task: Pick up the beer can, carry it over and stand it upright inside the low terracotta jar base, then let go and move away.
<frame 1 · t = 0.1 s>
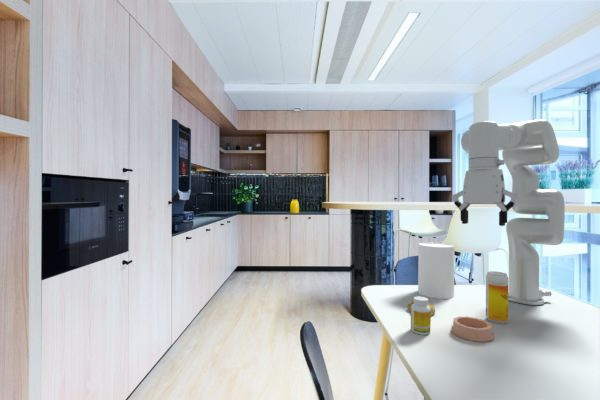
hand: (482, 224, 91), 31 cm above the table, tool pointing down, fingers open, 9 cm apart
beer can: (496, 321, 100), on the table
canister: (435, 294, 129), on the table
bread roll: (421, 313, 107), on the table
jar base: (471, 333, 90), on the table
supplement bottle: (420, 332, 91), on the table
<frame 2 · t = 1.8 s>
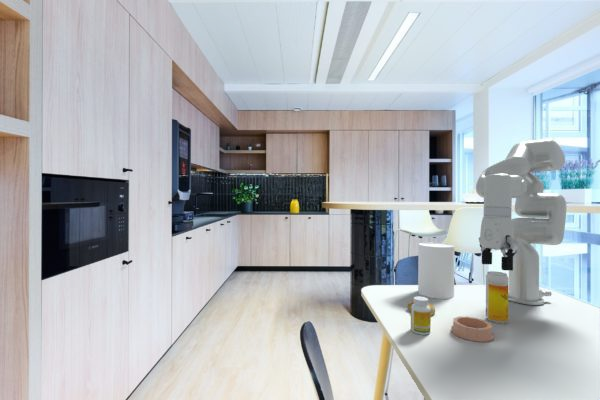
hand: (496, 267, 100), 17 cm above the table, tool pointing down, fingers open, 9 cm apart
nothing on the table moved.
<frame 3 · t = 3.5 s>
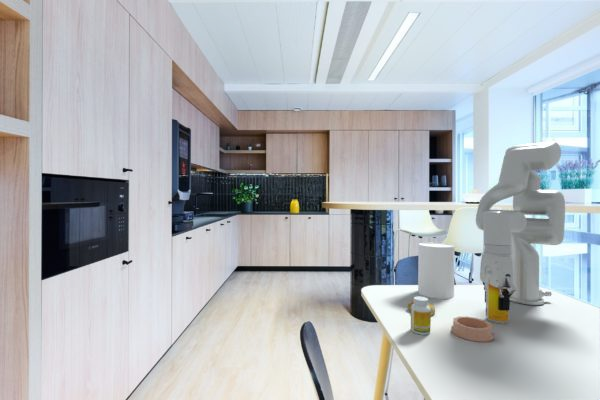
hand: (496, 305, 100), 5 cm above the table, tool pointing down, fingers closed on beer can, 6 cm apart
beer can: (496, 321, 100), on the table, touching gripper
everything else where it was.
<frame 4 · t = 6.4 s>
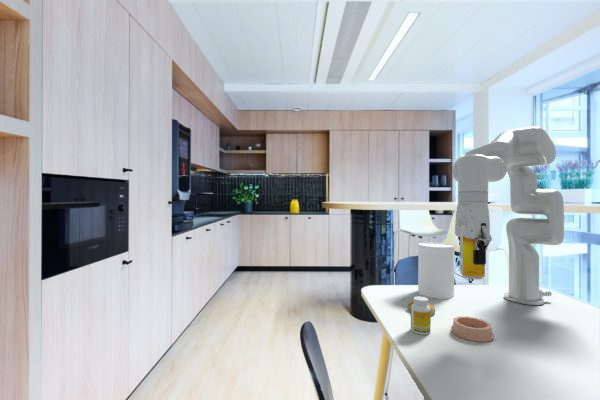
hand: (472, 261, 90), 21 cm above the table, tool pointing down, fingers closed on beer can, 6 cm apart
beer can: (472, 278, 90), point 16 cm above the table, touching gripper
everything else where it was.
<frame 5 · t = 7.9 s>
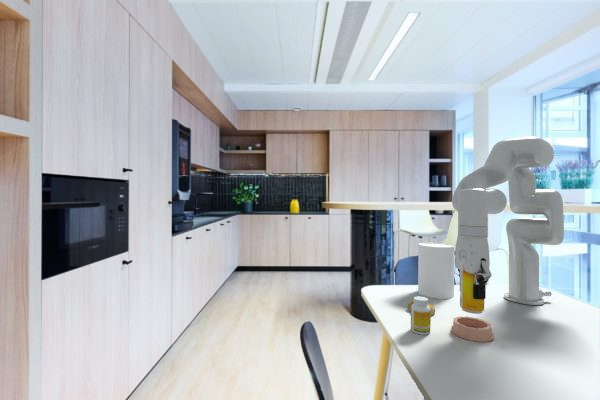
hand: (472, 294, 90), 11 cm above the table, tool pointing down, fingers closed on beer can, 6 cm apart
beer can: (471, 311, 89), point 6 cm above the table, touching gripper
everything else where it was.
when the fingers open (6 cm above the table, at t = 9.3 s): beer can stays where it is, resting on jar base.
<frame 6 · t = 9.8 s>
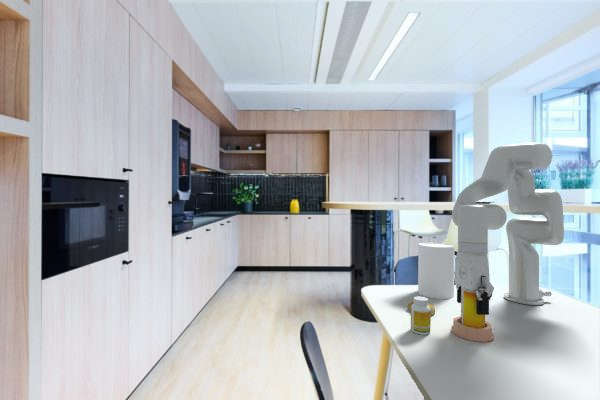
hand: (472, 308, 90), 7 cm above the table, tool pointing down, fingers open, 9 cm apart
beer can: (472, 331, 90), point 1 cm above the table, touching jar base
everything else where it was.
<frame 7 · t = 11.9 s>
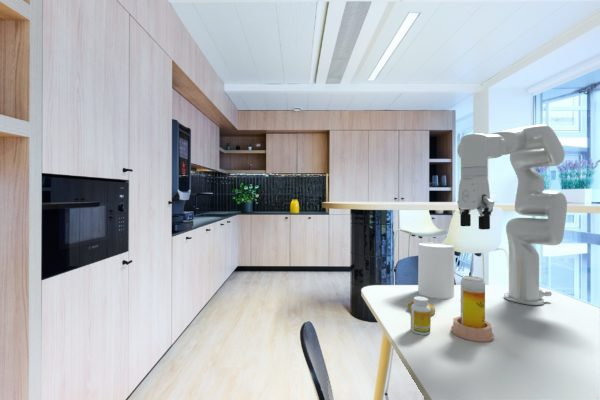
hand: (474, 227, 100), 29 cm above the table, tool pointing down, fingers open, 9 cm apart
nothing on the table moved.
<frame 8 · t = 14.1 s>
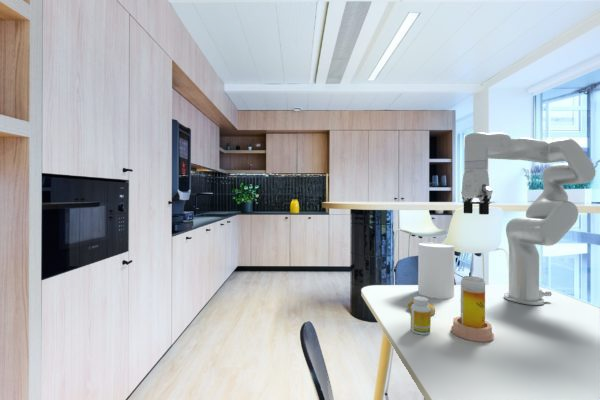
hand: (475, 213, 115), 33 cm above the table, tool pointing down, fingers open, 9 cm apart
nothing on the table moved.
at the end: beer can 0.2 cm off-centre on the jar base, point 0.6 cm above the jar base's base; beer can tilted 0°; the gripper is holding nothing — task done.
